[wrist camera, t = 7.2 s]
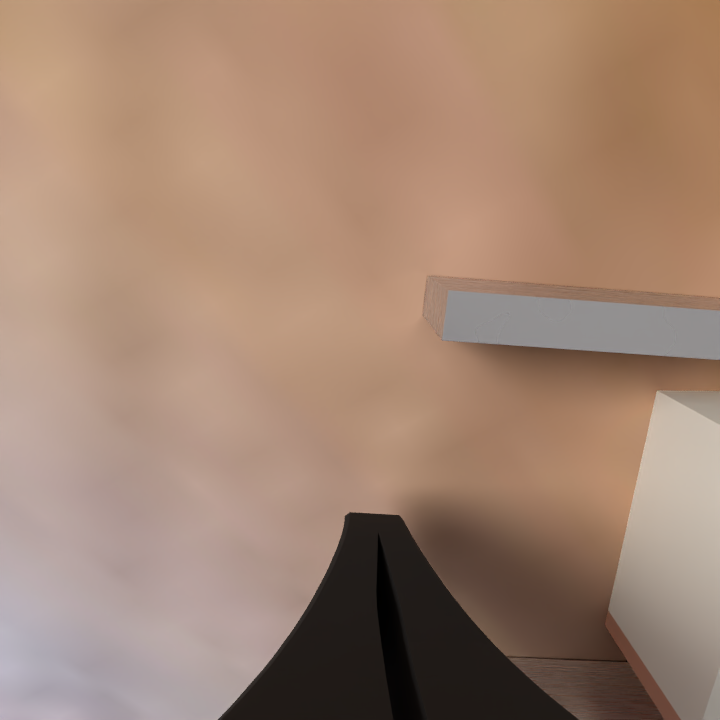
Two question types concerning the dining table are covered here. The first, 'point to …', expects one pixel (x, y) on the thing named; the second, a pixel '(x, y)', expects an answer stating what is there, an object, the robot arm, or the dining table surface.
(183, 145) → the dining table surface
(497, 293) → the shelf slot
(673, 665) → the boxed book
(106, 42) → the dining table surface
